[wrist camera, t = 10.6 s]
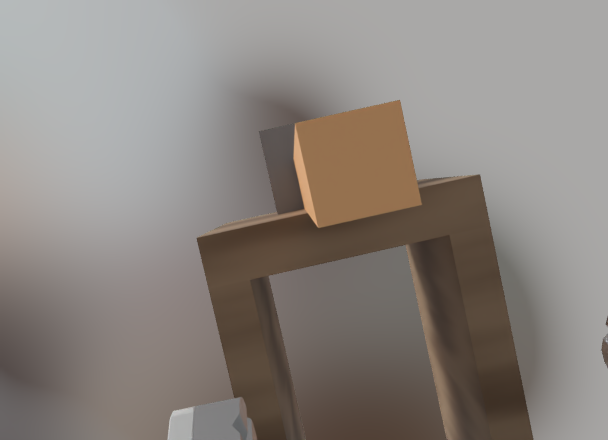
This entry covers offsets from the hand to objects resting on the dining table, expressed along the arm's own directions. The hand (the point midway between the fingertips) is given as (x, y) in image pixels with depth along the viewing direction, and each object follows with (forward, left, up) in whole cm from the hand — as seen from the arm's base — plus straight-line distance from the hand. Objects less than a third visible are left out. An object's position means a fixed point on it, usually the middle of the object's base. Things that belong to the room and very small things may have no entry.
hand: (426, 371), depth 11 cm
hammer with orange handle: (+3, +9, +4) cm, 10 cm away
